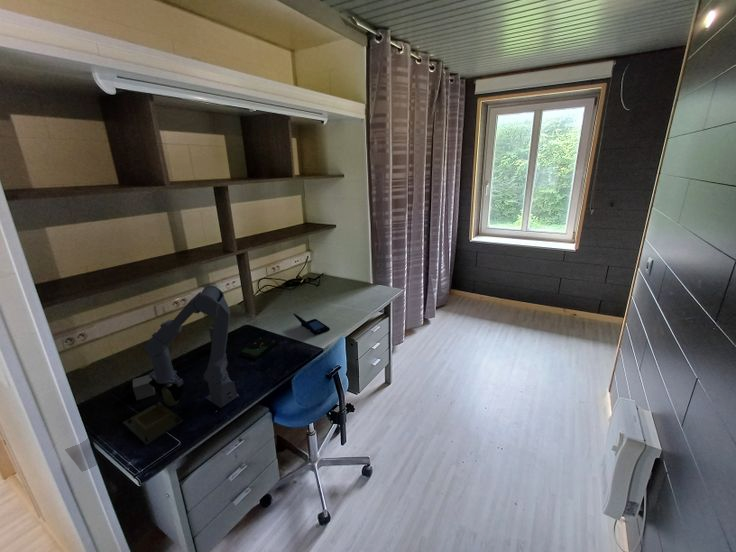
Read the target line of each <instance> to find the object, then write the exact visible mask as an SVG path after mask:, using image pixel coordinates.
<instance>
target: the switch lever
mask: <svg viewBox="0 0 736 552" xmlns="http://www.w3.org/2000/svg"><path fill="white" fill-rule="evenodd" d="M171 385H172V384H166V385H165V386H164V387H163V388H162V390H161V391H162V395H163V396H162V398H163V401H164V406H166V407H167V408H168V407H169V408H171V407H173V406H176V405H177V404H178V403H179V402H180V400H178V401H175V400H174V398H173V395H172V393H171V392H170V391H169V390H168V389H167V388H169V387H170V386H171Z"/></svg>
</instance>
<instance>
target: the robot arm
mask: <svg viewBox="0 0 736 552" xmlns="http://www.w3.org/2000/svg"><path fill="white" fill-rule="evenodd" d="M200 312H201V313H203V314H205V315H207V316H209V317H211V318H213V319H214V323H213V324H214V329H213V338H212V343H211V348H210V355H209V356H210V357H209V360H208V364H207V367H206V368H207V369H206V370H205V371H204V373H203V379H204V381H205V382H206V383H207V385H208V391H209V395H208V396H206V400H207V401H209V402H210V403H212V404H214V405H215V406H216V407H219V408H220V409H222V408H223V407H225V406H227V404H230V403H231V402H233V400H235V399H237V398H238V397H239V396H240V395H239V393H237V390H236V384H235V382H234V381H232V380H231V378H230V377H229V372H228V371H227V367H228V364H229V362H228V359H227V353H226V351H227V350H226V349H227V344H228V343H227V342H228V334H229V327H230V320H231V309H230V307H229V304H228V302H227V301H226V298H225V293H224V292H223V291H222V290H221V289H220V288H218V287H217V286H214V285H207V286H205V287H204V288H203V289H202V291H199V292H198V293H197V294H196V295H194V296H193V298H191V299H190V300H189V301H188V302H187V304H186V305H185V306H184V307H183V308H182V310H181V311H179V313H178V314H177V315H176V316H175V318H174V319H169V320H167V321H163V322H162V323H161V324H160V326H159V327H160V328H159V329H158V330H157V331H156V332H154V333H152V334H151V337H150V339H149V340H148V341H147V342H146V343H145V345H144V352H145V353H146V354H147V355H149V357H150V360H151V364H152V367H153V370H152V372H149V373H148V375H149V376H150V378H151V379H152V380H151V381H150V382H149V384H150V385H152V386H153V387H154V389H155V392H157V394H158V395H159V396H160V397H162V398H163V395H162V391H161V390H162V388H163V387H164V386H165V385H167V384H172V385H171V386H170V387H169V388H167V389H168V390H169V391H170V392H171V393H172V395H173V398H174V400H175V401H178V400H179V401H180V400H182V392H183V387H184V385H185V382H186V381H185V380H184V379H183V378H181V377H179V375H177V370H175V369H174V367H173V363H172V359H171V355H170V354H171V353H170V351H169V346H168V345H170V344H171V343H172V341H174V339H175V338H176V337H177V336H178V335H179V334H180V333H181V332H182V329H183V327H182V325H183V324H184V323H185V322H186V321H187V320H189V318H190V317H191V316H192V315H193V314H199V313H200Z"/></svg>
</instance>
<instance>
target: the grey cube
mask: <svg viewBox="0 0 736 552" xmlns="http://www.w3.org/2000/svg"><path fill="white" fill-rule="evenodd" d="M151 380H152V379H151V378H150V376H149V374H146V375H144V376H141V377H137V378H133V379H132V389H133V393H134V396H135V399H136V401H141V400H143V399H147V398H148V397H152V396H155V395H156V389H155V388H154V387H153V386H152V385H150V384H149V382H150V381H151Z"/></svg>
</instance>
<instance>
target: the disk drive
mask: <svg viewBox="0 0 736 552" xmlns="http://www.w3.org/2000/svg"><path fill="white" fill-rule="evenodd" d="M278 343H279V342H278V340H277V339H273V338H269V337H265V336H259V337H258V338H257V339H255V340H253V341H252V342H251V343H250V344H248V345H246V346H245V347H244V348H242V349H241V350H240V351H239V353H240V356H243V357H246V358H250V359H253V360H256V361H258V360H260V359H261V358H262V357H263V356H265V355H266V354H267V353H269V352H270V351H271V350H272V349H274V348H275V347H276V346H277V345H279V344H278Z"/></svg>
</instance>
